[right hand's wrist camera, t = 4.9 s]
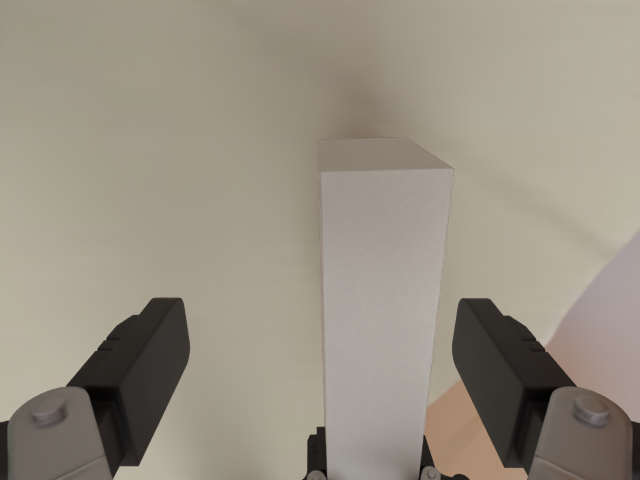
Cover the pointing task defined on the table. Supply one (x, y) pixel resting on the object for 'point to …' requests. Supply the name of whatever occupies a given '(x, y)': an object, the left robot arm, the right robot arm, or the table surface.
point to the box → (379, 300)
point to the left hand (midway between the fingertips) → (364, 433)
